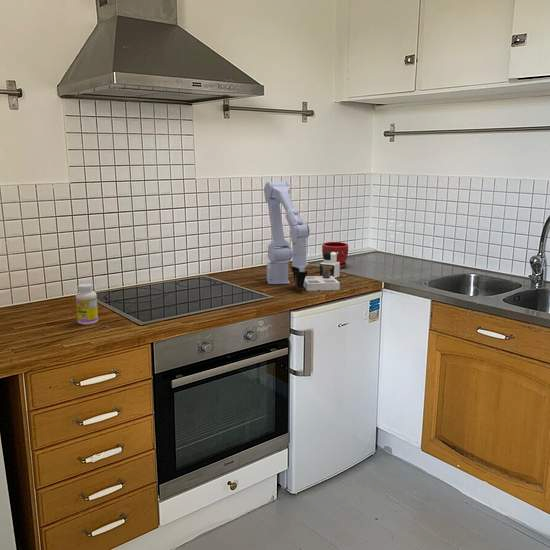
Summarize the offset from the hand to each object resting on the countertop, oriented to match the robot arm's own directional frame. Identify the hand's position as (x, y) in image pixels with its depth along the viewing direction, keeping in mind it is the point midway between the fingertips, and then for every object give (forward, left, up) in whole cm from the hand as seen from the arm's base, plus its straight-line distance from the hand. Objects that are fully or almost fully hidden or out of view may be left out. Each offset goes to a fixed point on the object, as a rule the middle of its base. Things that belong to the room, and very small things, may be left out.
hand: (298, 285), depth 233 cm
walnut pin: (0, 0, -2) cm, 2 cm away
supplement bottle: (-78, -38, -2) cm, 87 cm away
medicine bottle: (+18, +22, -2) cm, 29 cm away
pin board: (+10, +5, -2) cm, 11 cm away
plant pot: (+26, +46, -2) cm, 53 cm away
